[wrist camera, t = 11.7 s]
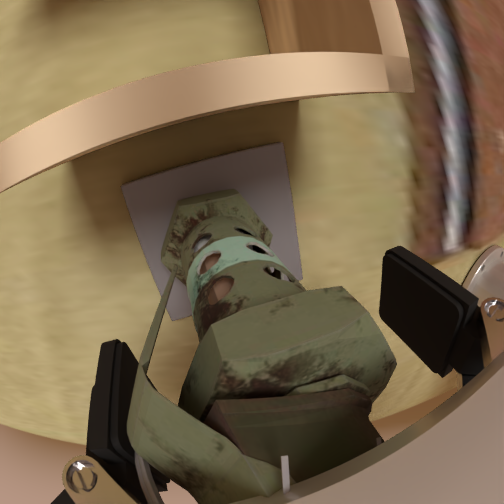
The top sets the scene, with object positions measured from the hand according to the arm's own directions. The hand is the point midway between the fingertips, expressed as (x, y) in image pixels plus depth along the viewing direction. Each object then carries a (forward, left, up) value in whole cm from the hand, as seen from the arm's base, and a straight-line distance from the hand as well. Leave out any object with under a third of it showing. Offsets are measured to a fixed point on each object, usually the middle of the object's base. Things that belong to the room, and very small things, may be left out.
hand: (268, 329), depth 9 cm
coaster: (0, 0, -9) cm, 9 cm away
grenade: (+1, 0, -8) cm, 8 cm away
